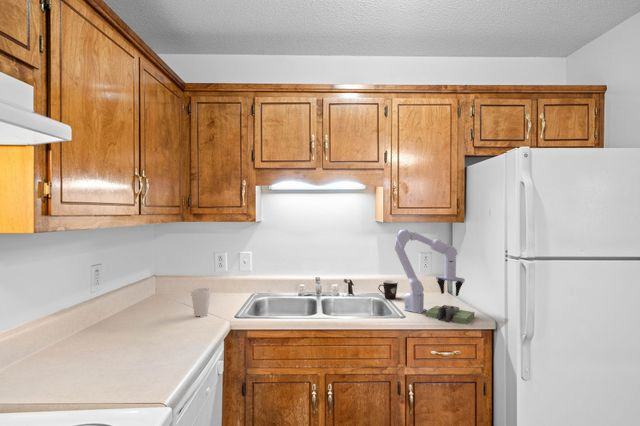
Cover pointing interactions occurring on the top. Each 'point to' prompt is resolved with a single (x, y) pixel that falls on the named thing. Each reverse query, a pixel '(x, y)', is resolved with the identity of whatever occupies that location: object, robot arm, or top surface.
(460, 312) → the notched green slab
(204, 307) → the foam cup
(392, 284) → the coffee mug
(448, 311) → the chute
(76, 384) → the top surface
